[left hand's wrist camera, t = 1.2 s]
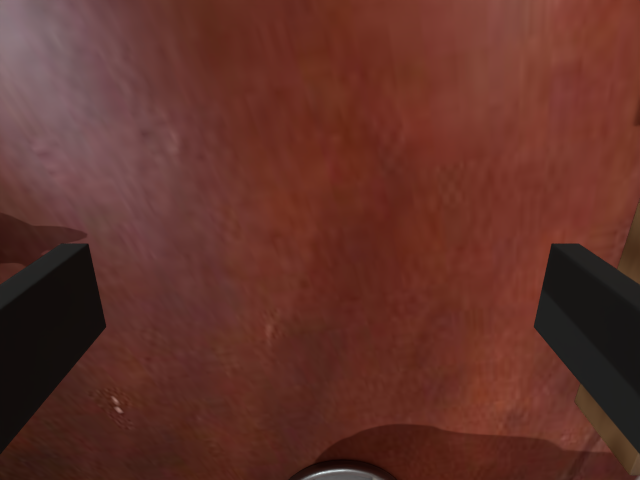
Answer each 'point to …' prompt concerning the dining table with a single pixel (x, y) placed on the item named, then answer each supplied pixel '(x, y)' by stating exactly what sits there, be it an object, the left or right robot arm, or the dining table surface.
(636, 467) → the bar
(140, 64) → the dining table surface
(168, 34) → the dining table surface
